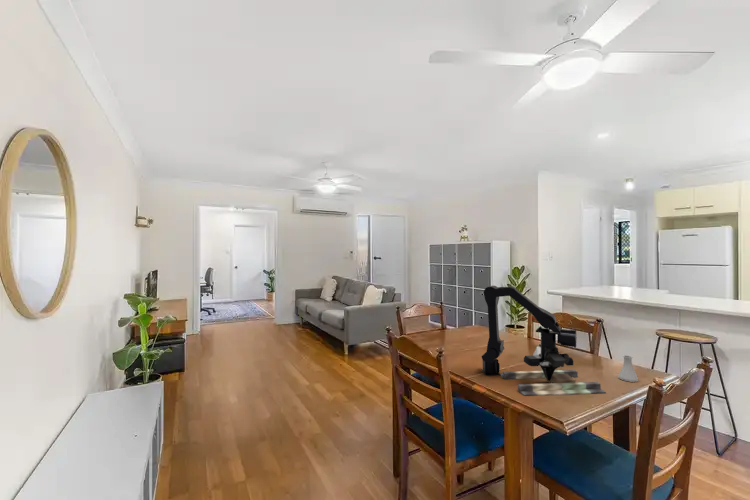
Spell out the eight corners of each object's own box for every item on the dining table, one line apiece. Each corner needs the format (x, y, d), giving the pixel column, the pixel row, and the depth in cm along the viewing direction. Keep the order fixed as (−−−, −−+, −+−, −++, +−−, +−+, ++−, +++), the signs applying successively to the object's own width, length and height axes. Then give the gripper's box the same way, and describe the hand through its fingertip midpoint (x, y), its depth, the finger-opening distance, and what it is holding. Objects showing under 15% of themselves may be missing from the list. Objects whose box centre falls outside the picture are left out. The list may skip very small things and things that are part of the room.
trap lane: (524, 395, 131) (524, 389, 131) (499, 375, 153) (499, 369, 153) (606, 393, 133) (606, 386, 133) (570, 373, 155) (570, 367, 155)
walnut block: (557, 389, 138) (557, 379, 138) (550, 383, 145) (550, 373, 145) (575, 390, 138) (575, 380, 138) (567, 383, 145) (567, 373, 145)
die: (552, 368, 164) (559, 350, 167) (535, 358, 165) (542, 340, 169) (544, 368, 172) (551, 351, 175) (528, 359, 173) (535, 342, 176)
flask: (632, 383, 143) (632, 359, 143) (614, 378, 149) (613, 355, 149) (642, 380, 146) (641, 357, 146) (623, 375, 152) (623, 352, 153)
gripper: (536, 349, 135) (537, 389, 135) (582, 348, 136) (582, 387, 136) (523, 342, 146) (523, 378, 146) (565, 341, 147) (565, 377, 147)
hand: (548, 380), depth 143 cm, fingers closed
